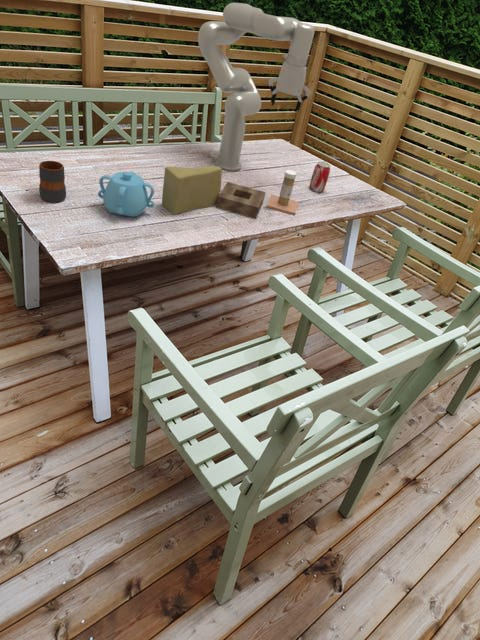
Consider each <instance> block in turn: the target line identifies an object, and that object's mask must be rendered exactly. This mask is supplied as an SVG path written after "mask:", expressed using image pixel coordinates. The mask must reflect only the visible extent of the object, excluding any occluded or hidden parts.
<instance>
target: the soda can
mask: <svg viewBox="0 0 480 640" xmlns="http://www.w3.org/2000/svg"><path fill="white" fill-rule="evenodd" d="M330 172H331V165H330V164H329V163H328V162H325V161H318V162H317V164H316V165H315V166H314V169H313V172H312V175H311V178H310V183H309V188H310V190H311V191H313V192H315V193H322V192H324V191H325V188H326V185H327V183H328V179H329V176H330V174H331V173H330Z"/></svg>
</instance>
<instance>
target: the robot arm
mask: <svg viewBox="0 0 480 640" xmlns="http://www.w3.org/2000/svg"><path fill="white" fill-rule="evenodd" d="M222 18H223V19H222V20H223V21H221V20H220V21H218V20H217V21H216V20H210V21H207V22H204V23H203V24H202V25H201V27H200V29H199V32H198V34H197V35H198V36H197V37H198V38H197V39H198V40H197V42H198V47H199V51H200V52H201V55H202V57H203V58H204V61H206V63H207V65H208V67H209V70H210V71H211V74H212V75H213V78H214V80H215V82H216V83H217V86H218V88H219V89H220V91H221V92H222V93H225V94H229V95H228V96H227V98H226V99H225V103H224V121H223V128H222V135H221V139H220V141H221V142H220V147H219V151H218V152H215V151H210V152H209V157H210V158H213V159H214V162H213V163H214V166H218V167H220V168H221V169H222V170H224V171H229V172H231V171H232V172H235V171H240V170H241V169H242V163H241V162H240V157H241V153H242V147H243V145H244V143H243V142H244V137H245V132H246V120H245V117H246V116H253V115H256V114H258V113H259V112H260V110H261V108H262V99H261V95H260V94H259V91H258V89H257V87H256V84H255V83H254V80H253V79H252V77H251V74H250V73H249V72H248V71H247V70H246V69H244V68H242V67H234V66H232V64H231V62H230V60H229V58H228V56H227V54H226V53H225V52H224V50H222V48H221V47H220V46H230V45H233V44H235V43H236V42H237V41H239V39H240V38H242V36H244V35H245V34H246V33H250V34H252V35H253V34H254V35H256V36H258V37H260V38H264V39H267V40H271V41H278V42H279V41H280V42H282V41H285V42H290V44H289V47H288V48H289V50H288V52H287V54H283V57H282V59H285V61H284V62H283V64H282V66H281V69H280V72H279V74H278V77H274V78H270V79H269V80H268V86H269V90H270V91H271V94H272V95H271V99H270V103H271V106H274V105H275V103H276V99H277V93H278V92H279V93H284V94H287V95H290V96H293V97H297V100H298V101H297V103H296V106H295V109H294V112H295V113H297V112H298V111H300V108H301V106H302V103H303V102H304V101H306V100H308V98H309V97H310V96H311V95H312V91H311V90H310V88H308V86H307V85H305V82H306V77H307V62H308V59H309V58H308V57H309V54H310V51H311V48H312V43H313V40H314V35H315V32H316V31H315V29H316V28H315V27H314V26H313V25H311V24H309V23H304V22H302V21H300V20H298V19H297V18H295V17H287V16H276V15H272V14H267V13H264V11H263V10H262V9H261V8H259V7H258V8H257V7H255V6H252V5H250V4H249V3H241V2H231V3H228V4H227V5H225V7H224V9H223V12H222ZM276 82H277V83H276ZM273 83H276V85H275V87H274V85H273ZM303 91H305V92H306V94H305V95H302V93H303Z"/></svg>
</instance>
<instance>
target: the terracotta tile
mask: <svg viewBox="0 0 480 640" xmlns="http://www.w3.org/2000/svg"><path fill="white" fill-rule="evenodd" d="M279 196H280V195H276V194H270V196H269V199H268V201H267V203H266V206H265V207H266V208H267V209H271V210H274V211H278V212H281V213H285V214H288V215H291V216H296V213H297V210H298V207H299V202H300V201H297V200H294V199H291V198H290V199H289V204H288V205H281V204H279V203H278V200H279Z"/></svg>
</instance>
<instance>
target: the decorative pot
mask: <svg viewBox="0 0 480 640" xmlns="http://www.w3.org/2000/svg"><path fill="white" fill-rule="evenodd" d="M104 179H105V180H106V179H107V180H108V182H107V185H106V186H104ZM99 187H100V190H99V191H98V193H97V196H98V197H99V198H100V199H102V200H103V205H104V207H105V208H106V210H108V212H109V213H111V214H115V215H121V216H125V217H131V218H136V217H137V216H139V215H142V213H143V212H144V211H145V210H146V209H147V208H149V209H150V208H153V207H154V206H155V202H154V200H152V198H153V196H154V194H155V188H154V186H153V185H152V184H151V183H149V182H145V181H144V178H143V177H142V176H140V175H139V174H136V173H135V171H131V170H130V171H118V172H115V173H114V174H113V175H108V174H104V175H102V176H101V177H100V178H99ZM147 188H149V189H150V194H149V193H148V189H147ZM148 194H149V195H148Z"/></svg>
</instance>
